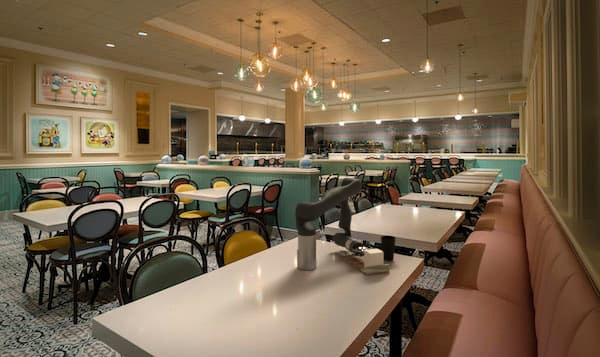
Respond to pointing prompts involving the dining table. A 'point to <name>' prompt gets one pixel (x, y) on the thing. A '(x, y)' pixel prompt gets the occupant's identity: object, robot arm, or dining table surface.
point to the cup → (388, 247)
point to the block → (373, 257)
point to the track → (371, 270)
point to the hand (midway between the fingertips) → (370, 256)
